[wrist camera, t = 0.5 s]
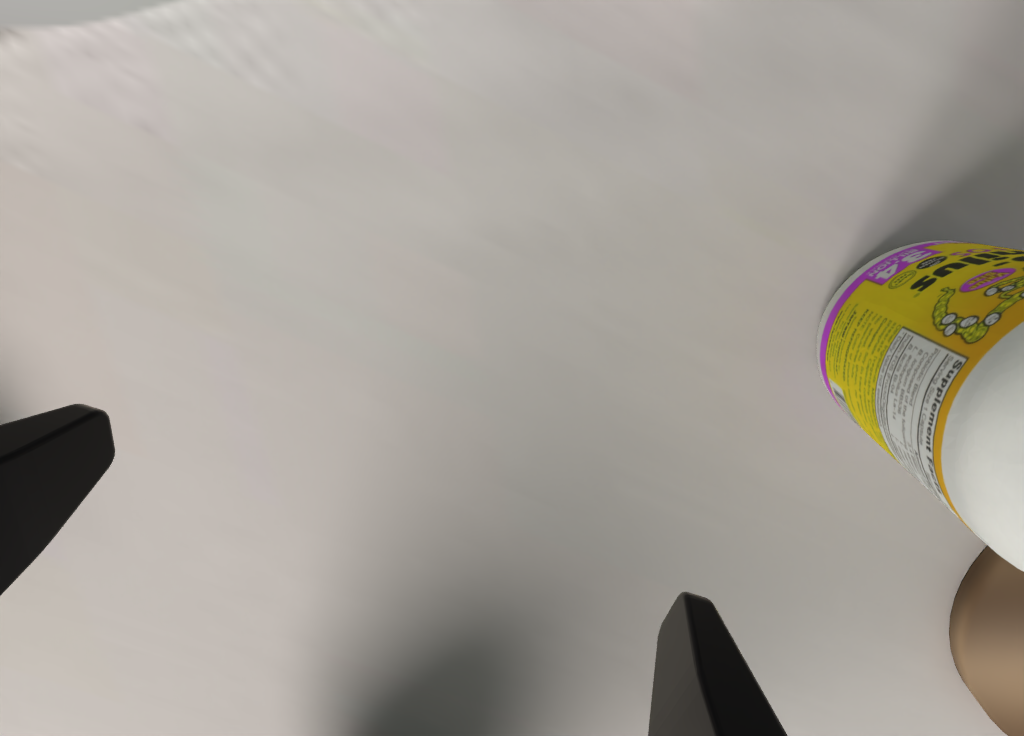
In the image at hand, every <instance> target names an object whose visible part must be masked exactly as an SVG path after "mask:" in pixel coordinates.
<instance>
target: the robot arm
mask: <svg viewBox="0 0 1024 736" xmlns="http://www.w3.org/2000/svg"><path fill="white" fill-rule="evenodd" d="M114 456H115V447H114V441H113V436H112V430H111V424H110V419H109V416H108V415H107V413H106V412H105V411H103V410H100V409H97V408H94V407H91V406H87V405H84V404H74V405H70V406H66V407H62V408H59V409H55V410H52V411H48V412H45V413H41V414H38V415H34V416H31V417H27V418H24V419H20V420H17V421H13V422H10V423H6V424H3V425H0V596H1V595H2V594H3V592H4V591H5V590H6V589H7V588H8V587H9V586H10V585H11V584H12V583H13V582H14V581H15V580H16V579H17V578H18V577H19V576H20V575H21V574H22V572H23V571H24V570H25V569H26V568H27V567H28V566H29V565H30V564H31V563H32V562H33V561H34V560H35V559H36V558H37V556H38V555H39V554H40V553H41V552H42V551H43V550H44V549H45V547H46V546H47V545H48V544H49V543H50V541H51V540H52V539H53V538H54V537H55V536H56V534H57V533H58V532H59V530H60V529H61V528H62V527H63V525H64V524H65V523H66V522H67V520H68V519H69V518H70V516H71V515H72V514H73V513H74V511H75V510H76V509H77V508H78V506H79V505H80V504H81V502H82V501H83V500H84V499H85V497H86V496H87V495H88V494H89V492H90V491H91V490H92V488H93V487H94V486H95V485H96V483H97V482H98V481H99V480H100V478H101V477H102V476H103V474H104V473H105V472H106V471H107V469H108V468H109V467H110V465H111V463H112V461H113V459H114ZM648 736H787V734H786V732H785V730H784V729H783V727H782V725H781V723H780V722H779V720H778V718H777V716H776V714H775V713H774V711H773V709H772V707H771V706H770V704H769V702H768V700H767V698H766V697H765V695H764V693H763V691H762V690H761V688H760V686H759V684H758V682H757V681H756V679H755V677H754V675H753V674H752V672H751V670H750V668H749V666H748V665H747V663H746V661H745V659H744V658H743V656H742V654H741V652H740V651H739V649H738V647H737V645H736V643H735V642H734V640H733V638H732V636H731V635H730V633H729V631H728V629H727V627H726V626H725V624H724V622H723V620H722V619H721V617H720V615H719V613H718V611H717V610H716V608H715V606H714V605H713V603H712V602H711V601H710V600H709V599H707V598H705V597H701V596H698V595H695V594H692V593H689V592H682V593H681V594H680V595H679V596H678V597H677V599H676V601H675V602H674V604H673V606H672V607H671V609H670V611H669V613H668V614H667V616H666V618H665V619H664V621H663V623H662V625H661V628H660V631H659V635H658V642H657V652H656V662H655V672H654V682H653V692H652V702H651V712H650V722H649V733H648Z"/></svg>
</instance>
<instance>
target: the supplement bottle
mask: <svg viewBox="0 0 1024 736" xmlns="http://www.w3.org/2000/svg"><path fill="white" fill-rule="evenodd" d="M816 354H817V364H818V369H819V373H820V376H821V379H822V381H823V383H824V385H825V387H826V389H827V391H828V393H829V394H830V396H831V397H832V398H833V400H834V401H835V402H836V403H837V405H838V406H839V407H840V408H841V409H842V410H843V411H844V412H845V413H846V414H847V415H848V416H849V417H850V418H851V419H852V420H853V421H854V422H855V423H856V424H858V425H859V426H860V427H861V428H862V429H863V430H864V431H865V432H866V433H867V434H869V435H870V436H871V438H872V439H873V440H875V441H876V442H877V443H878V444H879V445H880V446H881V447H882V448H883V449H884V450H886V451H887V452H888V453H889V454H890V455H891V456H892V457H893V458H894V459H895V460H897V461H898V462H899V463H900V464H901V465H902V466H903V467H904V468H905V469H906V470H907V471H908V472H910V473H911V474H912V475H913V476H914V477H915V478H916V479H917V480H918V481H920V482H921V483H922V484H923V485H924V486H925V487H926V488H927V489H928V490H929V491H930V492H931V493H932V494H933V495H934V496H935V497H937V498H938V499H939V500H940V501H941V502H942V503H943V504H944V505H945V506H946V507H947V508H948V509H949V510H950V511H951V512H953V513H954V514H955V515H956V516H957V517H958V518H959V519H960V520H961V521H962V522H963V523H964V524H965V525H966V526H967V527H968V528H969V529H970V530H971V531H972V532H973V533H975V534H976V535H977V536H978V537H979V538H980V539H981V540H982V541H983V542H985V543H986V544H987V545H988V546H989V547H990V548H991V549H992V550H994V551H995V552H996V553H997V554H998V555H999V556H1001V557H1002V558H1003V559H1005V560H1006V561H1008V562H1009V563H1011V564H1012V565H1014V566H1015V567H1016V568H1018V569H1020V570H1021V571H1023V572H1024V251H1022V250H1016V249H1009V248H1003V247H996V246H989V245H983V244H976V243H969V242H959V241H950V240H936V241H926V242H920V243H915V244H910V245H906V246H903V247H900V248H897V249H894V250H891V251H889V252H887V253H885V254H883V255H880V256H878V257H877V258H875V259H873V260H871V261H870V262H868V263H867V264H865V265H864V266H862V267H861V268H860V269H859V270H857V271H856V272H855V273H854V274H853V275H851V276H850V277H849V278H848V279H847V280H846V281H845V282H844V283H843V285H842V286H841V287H840V288H839V289H838V290H837V292H836V293H835V294H834V296H833V297H832V299H831V300H830V302H829V304H828V306H827V307H826V309H825V312H824V314H823V316H822V319H821V322H820V325H819V328H818V334H817V347H816Z"/></svg>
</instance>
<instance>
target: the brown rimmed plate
mask: <svg viewBox="0 0 1024 736" xmlns="http://www.w3.org/2000/svg"><path fill="white" fill-rule="evenodd" d="M949 636H950V647H951V652H952V655H953V659H954V663H955V666H956V668H957V670H958V672H959V674H960V676H961V678H962V680H963V681H964V683H965V684H966V686H967V687H968V689H969V690H970V691H971V693H972V694H973V696H974V697H975V698H976V700H977V701H978V702H979V704H980V705H981V706H982V708H983V709H984V711H985V712H986V713H987V715H988V716H989V717H990V719H991V720H992V721H993V722H994V723H995V724H996V725H997V726H998V727H999V728H1000V729H1001V730H1002V731H1003V732H1004V733H1005V734H1007V735H1008V736H1024V572H1023V571H1021V570H1020V569H1018V568H1016V567H1015V566H1014V565H1012V564H1011V563H1009V562H1008V561H1006V560H1005V559H1003V558H1002V557H1001V556H999V555H998V554H997V553H996V552H995V551H994V550H992V549H991V548H990V547H989V546H987V547H986V548H985V549H984V551H983V552H982V553H981V554H980V556H979V557H978V558H977V559H976V561H975V562H974V563H973V564H972V566H971V567H970V569H969V571H968V572H967V574H966V576H965V577H964V579H963V581H962V582H961V585H960V587H959V590H958V592H957V594H956V597H955V599H954V603H953V607H952V611H951V615H950V628H949Z"/></svg>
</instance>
